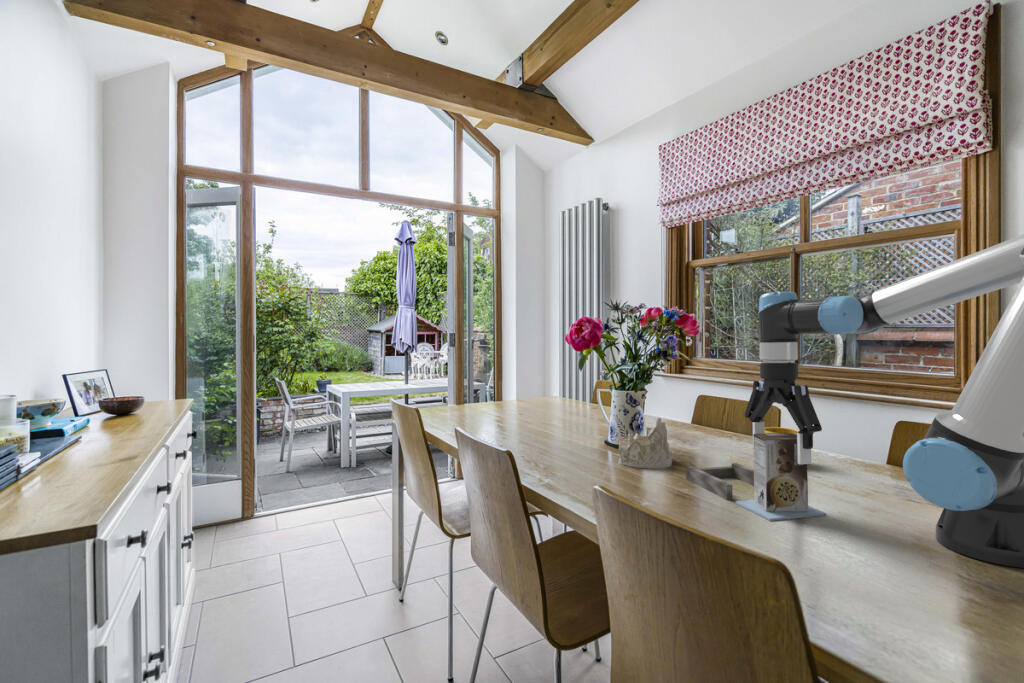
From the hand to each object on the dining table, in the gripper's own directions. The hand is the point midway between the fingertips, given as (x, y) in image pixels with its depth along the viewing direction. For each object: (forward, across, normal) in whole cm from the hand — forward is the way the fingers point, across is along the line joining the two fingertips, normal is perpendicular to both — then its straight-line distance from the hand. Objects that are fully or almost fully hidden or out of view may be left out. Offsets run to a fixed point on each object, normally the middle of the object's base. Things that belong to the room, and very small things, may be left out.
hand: (780, 456), depth 108 cm
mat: (+12, 0, 0) cm, 12 cm away
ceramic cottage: (+12, +45, +10) cm, 47 cm away
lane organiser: (+12, +16, 0) cm, 20 cm away
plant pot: (+12, +34, -30) cm, 47 cm away
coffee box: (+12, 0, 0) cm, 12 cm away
